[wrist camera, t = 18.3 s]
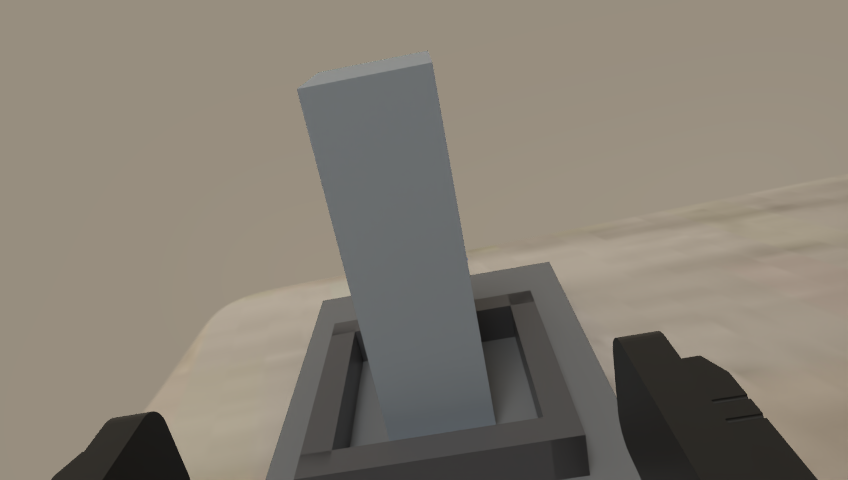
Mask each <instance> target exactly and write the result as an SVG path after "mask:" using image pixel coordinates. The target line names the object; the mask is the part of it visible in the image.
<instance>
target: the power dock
mask: <svg viewBox="0 0 848 480" xmlns="http://www.w3.org/2000/svg"><path fill="white" fill-rule="evenodd" d="M470 280H471V286H472V291H473V297H474V303H475V308H476V314H477V320H478V325H479V331H480V337H481V342H482V348H483V354H484V359H485V365H486V371H487V376H488V382H489V388H490V393H491V399H492V405H493V410H494V416H495V422H496V425H490V426H484V427H477V428H471V429H464V430H458V431H452V432H445V433H439V434H432V435H426V436H420V437H413V438H407V439H400V440H394V441H389V437H388V434H387V430H386V426H385V422H384V418H383V415H382V411H381V407H380V403H379V399H378V396H377V392H376V388H375V384H374V380H373V377H372V373H371V369H370V365H369V361H368V358H367V354H366V350H365V346H364V342H363V338H362V335H361V331H360V327H359V323H358V319H357V316H356V312H355V308H354V304H353V300H352V297H351V296H348V297H343V298H337V299H331V300H325V301H323V303H322V306H321V309H320V312H319V315H318V318H317V322H316V325H315V328H314V331H313V334H312V337H311V340H310V343H309V346H308V349H307V353H306V356H305V359H304V362H303V365H302V368H301V371H300V374H299V377H298V381H297V384H296V387H295V390H294V393H293V396H292V399H291V402H290V405H289V409H288V412H287V415H286V418H285V421H284V424H283V427H282V430H281V433H280V436H279V440H278V443H277V446H276V449H275V452H274V455H273V458H272V461H271V464H270V468H269V471H268V474H267V477H266V480H641V478H640V476H639V474H638V472H637V469H636V467H635V465H634V463H633V461H632V458H631V456H630V454H629V452H628V450H627V447H626V444H625V441H624V438H623V435H622V431H621V427H620V422H619V416H618V406H617V398H616V396H615V394H614V392H613V390H612V388H611V386H610V384H609V382H608V380H607V378H606V376H605V374H604V372H603V370H602V367H601V365H600V363H599V361H598V359H597V357H596V355H595V353H594V351H593V349H592V347H591V345H590V343H589V341H588V339H587V337H586V335H585V333H584V331H583V329H582V327H581V325H580V323H579V321H578V319H577V317H576V315H575V313H574V311H573V309H572V307H571V305H570V303H569V301H568V299H567V297H566V295H565V293H564V291H563V289H562V287H561V285H560V283H559V281H558V279H557V277H556V275H555V273H554V271H553V269H552V267H551V265H550V263H549V262H545V263H540V264H534V265H528V266H522V267H516V268H511V269H505V270H499V271H493V272H487V273H482V274H476V275H470Z"/></svg>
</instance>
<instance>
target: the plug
mask: <svg viewBox="0 0 848 480" xmlns="http://www.w3.org/2000/svg"><path fill="white" fill-rule="evenodd" d="M297 91H298V95H299V99H300V103H301V106H302V110H303V114H304V118H305V121H306V125H307V129H308V133H309V137H310V141H311V145H312V148H313V152H314V156H315V160H316V164H317V167H318V171H319V175H320V179H321V183H322V186H323V190H324V194H325V198H326V202H327V205H328V209H329V213H330V217H331V221H332V224H333V228H334V232H335V236H336V240H337V243H338V247H339V251H340V255H341V259H342V262H343V266H344V270H345V274H346V278H347V281H348V285H349V289H350V293H351V297H352V300H353V304H354V308H355V312H356V316H357V319H358V323H359V327H360V331H361V335H362V338H363V342H364V346H365V350H366V354H367V358H368V361H369V365H370V369H371V373H372V377H373V380H374V384H375V388H376V392H377V396H378V399H379V403H380V407H381V411H382V415H383V418H384V422H385V426H386V430H387V434H388V437H389V441H394V440H400V439H407V438H413V437H420V436H426V435H432V434H439V433H445V432H452V431H458V430H464V429H471V428H477V427H484V426H490V425H496V422H495V416H494V410H493V405H492V399H491V393H490V388H489V382H488V376H487V371H486V365H485V359H484V354H483V348H482V342H481V337H480V331H479V325H478V320H477V314H476V308H475V303H474V297H473V291H472V286H471V280H470V274H469V269H468V263H467V257H466V252H465V246H464V240H463V235H462V229H461V223H460V218H459V212H458V206H457V201H456V196H455V189H454V184H453V178H452V172H451V167H450V161H449V155H448V150H447V144H446V138H445V133H444V127H443V121H442V116H441V110H440V104H439V99H438V93H437V88H436V82H435V76H434V70H433V65H432V61H431V58H430V55H429V53H428V51H424V52H419V53H415V54H409V55H404V56H399V57H394V58H389V59H384V60H379V61H374V62H369V63H364V64H359V65H354V66H349V67H344V68H339V69H334V70H328V71H323V72H319V73H317V74H316V75H315V76H313V77H312V78H311V79H309V80H308V81H307V82H306V83H304V84H303V85H302V86H300V87H299V88H298V89H297Z"/></svg>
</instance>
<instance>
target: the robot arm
mask: <svg viewBox="0 0 848 480" xmlns="http://www.w3.org/2000/svg"><path fill="white" fill-rule="evenodd" d="M613 357H614V369H615V382H616V394H617V406H618V416H619V422H620V427H621V431H622V435H623V438H624V441H625V444H626V447H627V450H628V452H629V454H630V456H631V458H632V461H633V463H634V465H635V467H636V469H637V472H638V474H639V476H640V478H641V480H817V478H816V477H815V476H814V475H813V474H812V472H811V471H810V470H809V469H808V467H807V466H806V465H805V464H804V463H803V461H802V460H801V459H800V458H799V457H798V455H797V454H796V453H795V452H794V451H793V449H792V448H791V447H790V446H789V445H788V443H787V442H786V441H785V440H784V438H783V437H782V436H781V435H780V434H779V432H778V431H777V430H776V429H775V428H774V426H773V425H772V424H771V423H770V422H769V420H768V419H767V418H764V417H763V413H762V412H761V411H760V409H759V408H758V407H757V406H756V405H755V403H754V402H753V401H752V400H751V399H748V397H747V394H746V393H745V391H744V390H743V389H742V388H741V386H740V385H739V384H738V383H737V382H736V380H735V379H734V378H733V377H732V376H731V374H730V373H729V372H727V371H726V370H724V369H722V368H721V367H719V366H717V365H715V364H714V363H712V362H710V361H709V360H707V359H705V358H703V357H702V356H695V357H688V358H682V359H681V358H680V356H679V355H678V354H677V352H676V351H675V349H674V348H673V347H672V345H671V344H670V343H669V341H668V340H667V338H666V337H665V336H664V334H663V333H662V332H660V331H656V332H649V333H643V334H637V335H631V336H625V337H618V338H615V339H614V341H613ZM52 480H190V477H189V475H188V472H187V470H186V468H185V465H184V463H183V461H182V459H181V456H180V454H179V452H178V449H177V447H176V445H175V442H174V440H173V438H172V435H171V433H170V431H169V429H168V426H167V424H166V422H165V420H164V418H163V417H162V416H161V415H160V414H159V413H157V412H147V413H141V414H135V415H129V416H123V417H117V418H112V419H110V420H109V421H107V422H106V423H105V425H104V426H103V427H102V429H101V430H100V431H99V433H98V434H97V435H96V437H95V438H94V439H93V441H92V442H91V443H90V445H89V446H88V447H87V449H86V450H85V451H84V452H82V453H81V454H80V455H78V456H77V457H76V458H75V459H74V460H72V461H71V462H70V463H69V464H68V465H67V466H65V467H64V468H63V469H62V470H61V471H59V472H58V473H57V474H56V475H55V476H54V477H53V478H52Z"/></svg>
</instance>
